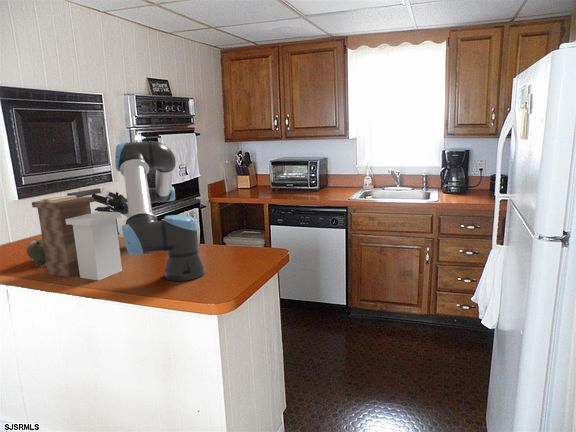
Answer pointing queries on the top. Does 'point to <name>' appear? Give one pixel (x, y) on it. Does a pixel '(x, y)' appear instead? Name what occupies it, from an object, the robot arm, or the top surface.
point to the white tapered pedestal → (97, 244)
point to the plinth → (61, 234)
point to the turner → (71, 196)
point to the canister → (107, 209)
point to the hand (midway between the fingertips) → (90, 190)
